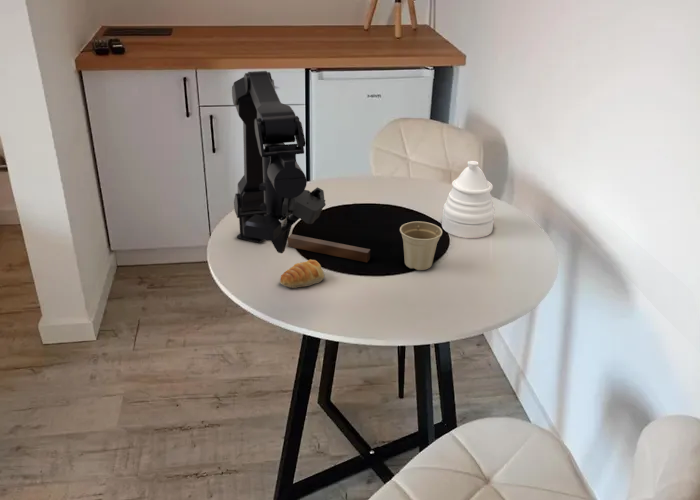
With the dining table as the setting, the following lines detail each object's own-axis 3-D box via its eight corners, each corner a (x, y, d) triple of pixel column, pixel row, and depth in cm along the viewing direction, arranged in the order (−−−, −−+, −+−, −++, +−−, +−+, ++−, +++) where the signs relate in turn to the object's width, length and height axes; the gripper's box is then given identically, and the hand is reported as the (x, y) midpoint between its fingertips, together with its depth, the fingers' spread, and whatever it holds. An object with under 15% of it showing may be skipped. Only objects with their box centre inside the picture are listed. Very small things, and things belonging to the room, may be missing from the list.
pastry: (291, 294, 142) (291, 278, 140) (273, 281, 147) (272, 265, 145) (327, 280, 148) (327, 265, 146) (308, 268, 152) (308, 253, 150)
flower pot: (416, 250, 161) (418, 217, 157) (447, 264, 155) (450, 230, 151) (389, 263, 155) (391, 229, 151) (421, 278, 149) (423, 243, 145)
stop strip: (287, 246, 161) (287, 237, 160) (291, 243, 163) (291, 233, 162) (367, 262, 155) (367, 253, 154) (370, 258, 157) (370, 249, 156)
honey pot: (488, 241, 166) (497, 172, 158) (436, 233, 169) (442, 165, 161) (495, 220, 177) (504, 154, 168) (447, 213, 180) (453, 148, 172)
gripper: (296, 203, 116) (298, 282, 123) (337, 167, 131) (336, 239, 138) (239, 193, 119) (243, 270, 126) (285, 159, 135) (287, 230, 142)
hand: (280, 252), depth 133 cm, fingers closed
